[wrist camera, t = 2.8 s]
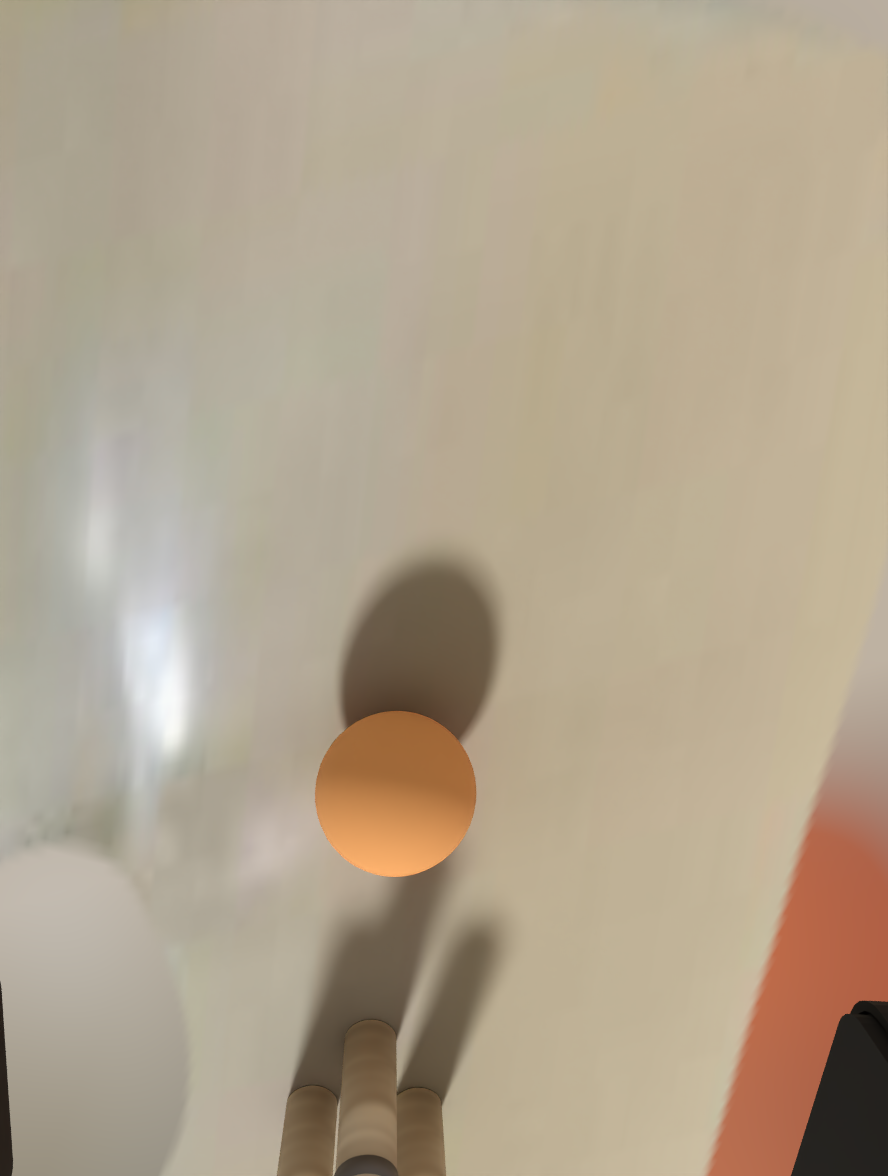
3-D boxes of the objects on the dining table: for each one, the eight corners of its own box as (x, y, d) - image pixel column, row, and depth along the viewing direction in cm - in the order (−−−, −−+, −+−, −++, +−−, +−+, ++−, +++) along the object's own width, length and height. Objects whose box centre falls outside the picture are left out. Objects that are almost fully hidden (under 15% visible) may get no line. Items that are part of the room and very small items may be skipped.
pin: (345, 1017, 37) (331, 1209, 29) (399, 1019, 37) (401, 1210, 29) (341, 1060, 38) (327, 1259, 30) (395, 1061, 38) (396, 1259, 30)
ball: (326, 680, 32) (311, 755, 26) (476, 689, 32) (494, 765, 27) (318, 812, 34) (303, 909, 28) (460, 819, 34) (474, 916, 28)
